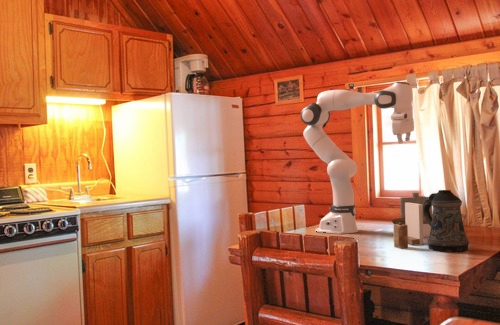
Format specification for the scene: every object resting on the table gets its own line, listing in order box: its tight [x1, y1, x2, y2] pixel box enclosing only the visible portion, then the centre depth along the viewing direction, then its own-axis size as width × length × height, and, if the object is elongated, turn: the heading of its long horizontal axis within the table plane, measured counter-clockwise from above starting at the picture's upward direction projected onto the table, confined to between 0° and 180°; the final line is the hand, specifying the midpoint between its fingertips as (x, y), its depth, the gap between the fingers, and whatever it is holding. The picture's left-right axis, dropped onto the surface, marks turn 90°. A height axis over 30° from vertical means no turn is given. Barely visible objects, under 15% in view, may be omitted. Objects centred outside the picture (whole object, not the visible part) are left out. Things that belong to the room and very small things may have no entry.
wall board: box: [405, 203, 424, 246], centre depth 229 cm, size 10×6×18 cm, turn 18°
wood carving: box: [391, 212, 467, 237], centre depth 247 cm, size 9×35×11 cm, turn 76°
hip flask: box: [399, 191, 433, 218], centre depth 264 cm, size 16×4×20 cm, turn 82°
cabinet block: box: [393, 222, 409, 250], centre depth 220 cm, size 4×4×11 cm
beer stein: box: [423, 189, 470, 254], centre depth 214 cm, size 16×19×25 cm
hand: (404, 142), depth 250 cm, fingers open, 8 cm apart
